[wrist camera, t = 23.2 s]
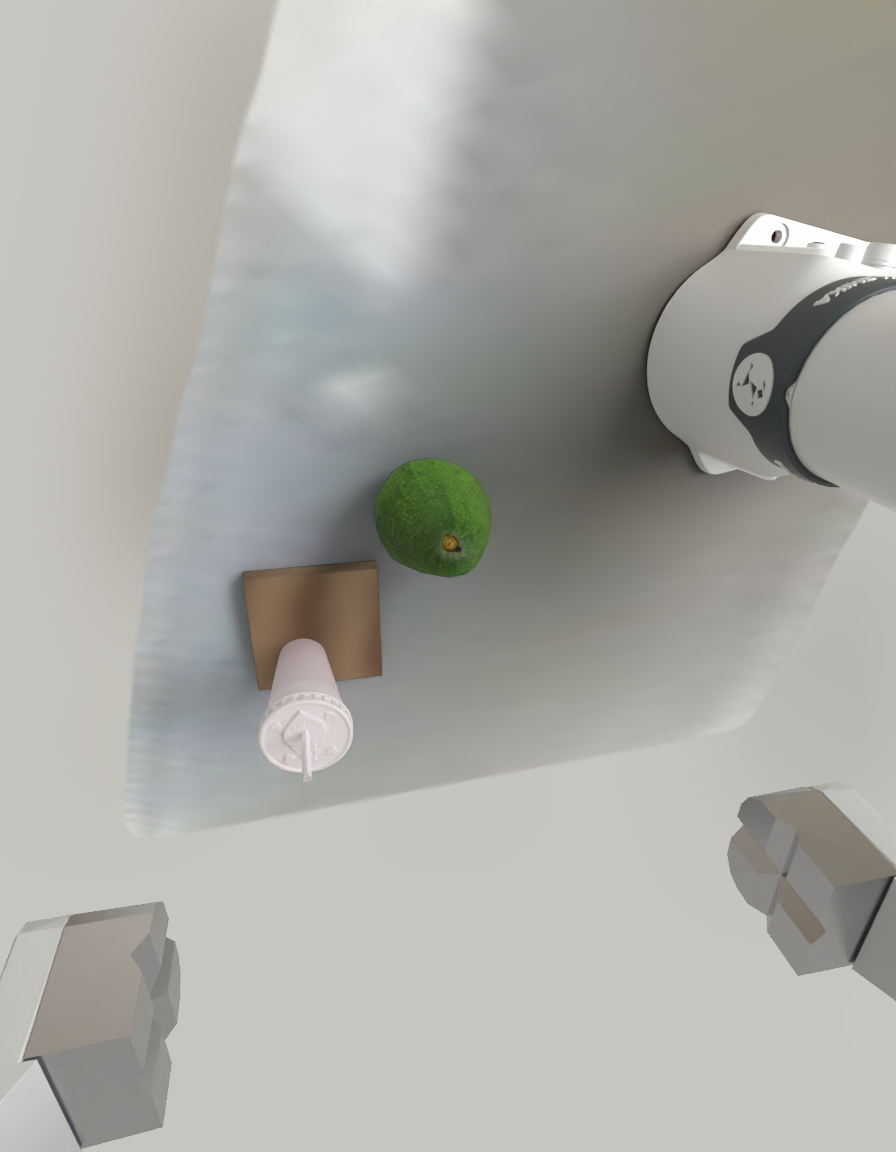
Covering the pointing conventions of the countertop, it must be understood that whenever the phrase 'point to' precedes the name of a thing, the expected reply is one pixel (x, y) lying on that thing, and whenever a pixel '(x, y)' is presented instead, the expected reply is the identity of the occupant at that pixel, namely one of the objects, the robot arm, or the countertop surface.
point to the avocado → (433, 517)
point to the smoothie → (304, 713)
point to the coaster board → (316, 616)
